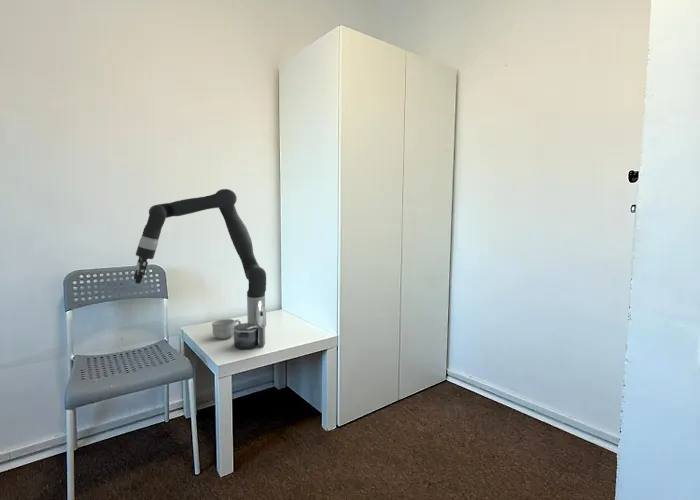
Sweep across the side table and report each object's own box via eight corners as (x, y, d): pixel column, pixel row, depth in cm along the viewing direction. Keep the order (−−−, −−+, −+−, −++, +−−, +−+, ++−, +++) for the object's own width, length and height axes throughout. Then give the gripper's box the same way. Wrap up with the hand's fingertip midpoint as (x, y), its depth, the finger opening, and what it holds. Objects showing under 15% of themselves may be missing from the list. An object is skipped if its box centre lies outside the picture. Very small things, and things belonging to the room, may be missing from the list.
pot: (237, 339, 196) (237, 321, 194) (266, 339, 196) (266, 321, 195) (230, 351, 181) (230, 331, 180) (261, 351, 182) (261, 331, 181)
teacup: (213, 342, 192) (213, 325, 191) (211, 334, 202) (211, 319, 201) (243, 338, 198) (242, 322, 197) (239, 331, 208) (239, 316, 207)
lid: (260, 297, 192) (264, 297, 192) (260, 322, 194) (264, 322, 194) (255, 304, 180) (260, 304, 181) (256, 330, 182) (260, 330, 182)
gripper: (157, 251, 180) (147, 286, 179) (154, 247, 192) (144, 279, 191) (139, 247, 176) (128, 282, 175) (137, 243, 187) (126, 276, 187)
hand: (136, 281), depth 183 cm, fingers open, 8 cm apart
